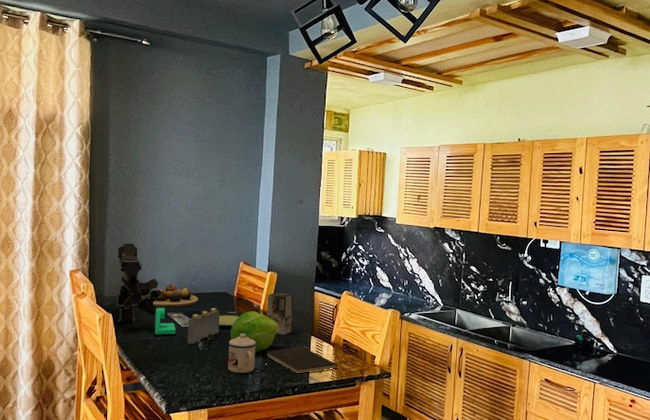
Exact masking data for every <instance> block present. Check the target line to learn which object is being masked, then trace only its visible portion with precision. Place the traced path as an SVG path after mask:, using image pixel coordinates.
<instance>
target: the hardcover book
mask: <svg viewBox="0 0 650 420" xmlns="http://www.w3.org/2000/svg"><path fill="white" fill-rule="evenodd" d="M265 352H266V353H267V354H266V356H267V357H269V359H272V360H273V361H275V362H277V363H278V364H279V363H280V365H281V364H282V365H281V366H283V367H284V366H285V368H286V367H287V368H286V369H288V368H289V369H291V370H292V371H291V370H290V371H291V372H293V371H294V372H296V373H303V372H310V371H316V370H324V369H330V368H336V367H337V368H338V364H337V363H335V362H333V361H331V360H329V359H327V358H325V357H323V356H321V355H319V354H317V353H315V352H314V351H311V350H309V349H307V348H306V347H304V346H300V347H293V348H292V347H291V348H284V349H274V350H273V349H272V350H265ZM289 369H288V370H289ZM294 372H293V373H294ZM296 373H295V374H296Z"/></svg>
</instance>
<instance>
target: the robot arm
mask: <svg viewBox="0 0 650 420" xmlns="http://www.w3.org/2000/svg"><path fill="white" fill-rule="evenodd" d="M117 259H118V261H119V264H120V265H119V266H120V267H119V269H120V270H119V271H121V273H122V277H121V279H120V280H121V281H120V282H121V283H122V285H121V286H120V288H119V293H118V294H117V299H116V308H117V309H119V319H118V320H117V321H116V322H117V323H126V324H127V323H129V324H131V323H134V322H135V321H136V320H137V319H136V318H134V316H135V315H134V314H135V309H139V310H140V311H143V312H146V313H148V314H149V315H151V316H153V317H155V316H156V307H154V304H153V302H154V301H155V300H156V299H157V298H158V297H159V296H160V295H161V294H162V292H161V291H160V290H157V288H158V285H159V282H158V281H157V280H156V279H155V278H151V279H150V280H149V281H147V282H143V281H142V282H141V281H140V280H139V277H138V276H139V272H140V271H141V270H142V264H141V262H140V261H139V259H138V247H136V246H135V243H122V245H120V246H119V247H118V248H117ZM154 289H155V290H154ZM151 290H152V292H151V293H150V294H149V295H148V293H149V292H150V291H151Z"/></svg>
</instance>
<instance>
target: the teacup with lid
mask: <svg viewBox="0 0 650 420" xmlns="http://www.w3.org/2000/svg"><path fill="white" fill-rule="evenodd" d="M255 346H256V342H255V341H254V340H252V339H250V338H248V337H246V334H240V337H237V338H235V339H230V340H229V342H228V364H227V365H228V367H227V368H228V370H229V372H234V373H242V374H244V373H250V372H252V371H254V369H255V361H256V359H255V358H256V352H255Z"/></svg>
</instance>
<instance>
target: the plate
mask: <svg viewBox="0 0 650 420" xmlns="http://www.w3.org/2000/svg"><path fill="white" fill-rule="evenodd" d="M219 311H220V315H219V327H224V328H225V327H228V328H229V327H230V328H232V325H233V323H234V322H235V321H236V320H237V318H238V317H239V316H241V315H242V314H243V313H245V312H242V311H231V310H230V311H226V310H225V311H223V310H222V311H221V310H219ZM201 315H202V313H201V314H199V316H201Z"/></svg>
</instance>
